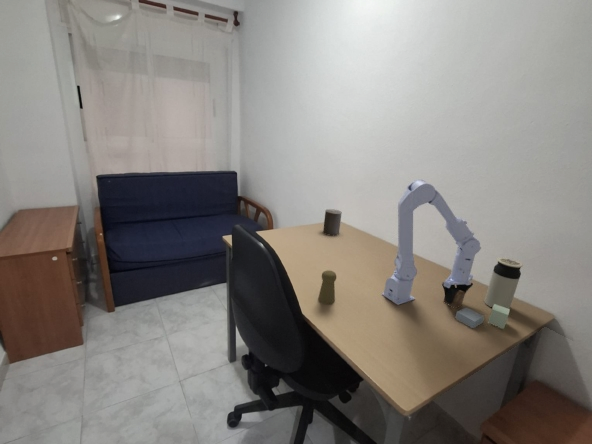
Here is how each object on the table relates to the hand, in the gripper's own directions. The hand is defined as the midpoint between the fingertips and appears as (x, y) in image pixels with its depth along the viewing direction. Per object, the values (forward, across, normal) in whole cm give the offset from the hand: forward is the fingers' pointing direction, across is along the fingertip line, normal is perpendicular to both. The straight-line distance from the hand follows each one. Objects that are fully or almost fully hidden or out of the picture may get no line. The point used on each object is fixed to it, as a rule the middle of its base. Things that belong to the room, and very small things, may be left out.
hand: (453, 300), depth 108 cm
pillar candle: (+2, +4, +81) cm, 81 cm away
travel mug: (+2, +15, -8) cm, 17 cm away
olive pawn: (+2, -42, +22) cm, 47 cm away
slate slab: (+2, -5, -9) cm, 10 cm away
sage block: (+2, +3, -14) cm, 14 cm away
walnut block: (+2, 0, 0) cm, 2 cm away
